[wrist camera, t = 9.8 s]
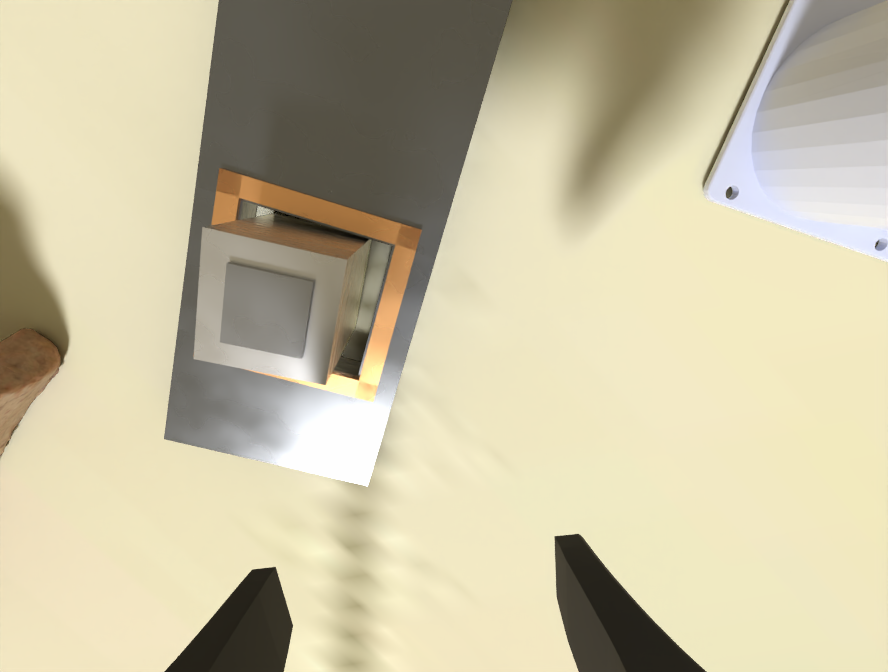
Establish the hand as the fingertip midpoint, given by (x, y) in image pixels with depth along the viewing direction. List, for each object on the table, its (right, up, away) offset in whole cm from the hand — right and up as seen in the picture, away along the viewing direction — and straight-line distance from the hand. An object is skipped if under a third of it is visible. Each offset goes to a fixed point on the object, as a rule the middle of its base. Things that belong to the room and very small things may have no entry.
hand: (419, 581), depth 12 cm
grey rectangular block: (-5, +9, +7) cm, 13 cm away
